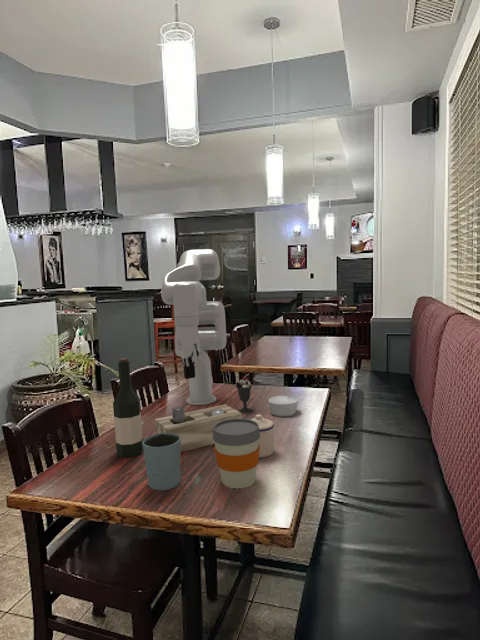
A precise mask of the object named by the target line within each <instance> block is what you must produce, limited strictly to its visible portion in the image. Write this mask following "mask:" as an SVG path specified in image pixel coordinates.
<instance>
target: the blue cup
mask: <svg viewBox="0 0 480 640" xmlns="http://www.w3.org/2000/svg"><path fill="white" fill-rule="evenodd" d="M142 444H143V453H144V459H145V467H146V468H145V471H146V475H147V483H148V486H149V488H150V489H152V490H154V491H167V490H171V488H172V489H174V488H176V487H178V486H179V485H178V484H180V483H181V478H182V477H181V474H182V473H181V472H182V471H181V454H182V452H180V448H181V437H180V436H179V435H177V434H173V433H160V434H156V433H155V434H152V435H149V436H147V437H146V438H143V442H142Z"/></svg>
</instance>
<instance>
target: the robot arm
mask: <svg viewBox="0 0 480 640" xmlns="http://www.w3.org/2000/svg"><path fill="white" fill-rule="evenodd" d="M220 274H221V265H220V258H219V255H218V254H217V252H216V250H214V249H211V248H202V249H200V248H199V249H188V250H186V251H184V252H183V253H182V254H181V256H180V259H179V262H178V263H177V264H176V268H175V269H173V270H171V271H170V272H168V273H166V275H165V276H164V278H163V281H162V283H161V290H160V291H161V292H160V294H161V295H160V296H161V300H162V302H163V303H164V304H166V305H171V306H172V305H173V314H174V315H173V316H174V326H175V330H174V353H175V355H176V356H178V357H180V358H181V359H182V365H183V377H184V378H185V379H187V380H188V382H189V383H188V384H189V385H188V386H189V397H187V398H186V403H187V404H188V405H191V406H206V405H210V404H213V403H215V402H216V401H217V397H216V396H215V395H213V386H212V385H213V381H212V363H211V358H210V356H209V355H208V354H207V353H206V352H205V351H211V350H212V351H213V350H214V351H215V350H217V351H218V350H223V349H225V348H226V346H227V327H226V311H225V307H224V304H223V302H222V301H218V300H213V301H212V300H211V301H208V299H207V290H206V287H205V286H204V285H203V284H202V283H201V281H212V280H213V281H214V280H217V279H218V278H219V277H220ZM199 325H214V326H210V327H209V326H208V327H205V326H204V327H198V326H199Z"/></svg>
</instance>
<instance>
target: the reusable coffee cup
mask: <svg viewBox="0 0 480 640" xmlns="http://www.w3.org/2000/svg"><path fill="white" fill-rule="evenodd" d="M259 438H260V431H259V424H258V423H257V422H255V421H253V420H251V419H248V418H242V419H228V420H224V421H221V422H218V423H216V424H215V425H214V427H213V440H214V442H215V444H214V447H213V450H214V455H215V461H216V465H217V467H218V469H219V473H220V478H221V480H220V481H221V483H223V484H224V485H225V486H224V485H223V484H222V485H223V486H224V487H226V486H227V487H226V488H228V487H229V489H233V488H236V489H235V490H237V489H238V488H241V489H246V488H249V487H250V485H251V486H253V485H254V484H255V483H256V477H257V475H256V474H257V466H258V465H259V460H260V459H259V458H260V457H259V450H260V445H259V444H258V443H259ZM253 483H254V484H253ZM248 486H249V487H248ZM245 487H246V488H245ZM238 490H239V489H238Z"/></svg>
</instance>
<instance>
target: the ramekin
mask: <svg viewBox="0 0 480 640" xmlns="http://www.w3.org/2000/svg"><path fill="white" fill-rule="evenodd" d="M267 403H268V405H269V409H270V410H269V411H270V413H271V414H272V415H274V416H276V417H292V416H293V415H295V414H296V411H297V408H298V403H299V400H298V398H296V397H294V396H291V395H276V396H272V397H269V399H268V400H267Z"/></svg>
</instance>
